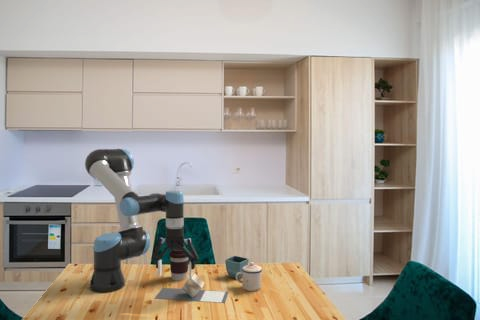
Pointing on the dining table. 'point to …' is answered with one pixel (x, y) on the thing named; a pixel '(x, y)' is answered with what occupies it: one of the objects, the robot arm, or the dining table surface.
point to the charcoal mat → (200, 296)
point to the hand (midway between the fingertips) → (175, 276)
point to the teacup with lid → (251, 277)
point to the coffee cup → (178, 264)
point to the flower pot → (235, 265)
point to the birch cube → (193, 285)
